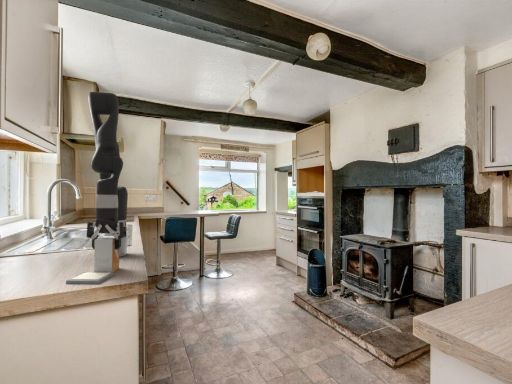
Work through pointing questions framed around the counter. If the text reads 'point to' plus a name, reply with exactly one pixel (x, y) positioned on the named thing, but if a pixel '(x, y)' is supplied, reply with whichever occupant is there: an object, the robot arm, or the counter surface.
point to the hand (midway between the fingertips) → (106, 249)
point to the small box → (106, 255)
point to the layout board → (90, 278)
